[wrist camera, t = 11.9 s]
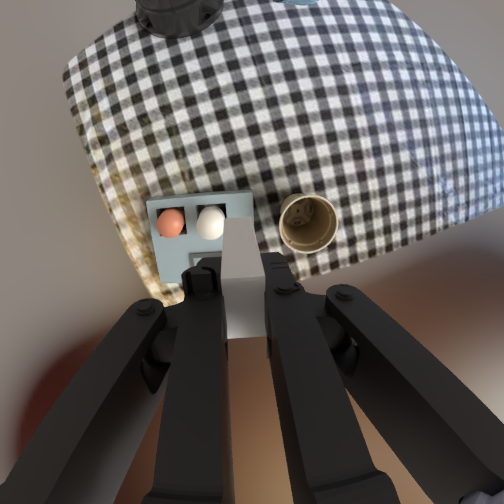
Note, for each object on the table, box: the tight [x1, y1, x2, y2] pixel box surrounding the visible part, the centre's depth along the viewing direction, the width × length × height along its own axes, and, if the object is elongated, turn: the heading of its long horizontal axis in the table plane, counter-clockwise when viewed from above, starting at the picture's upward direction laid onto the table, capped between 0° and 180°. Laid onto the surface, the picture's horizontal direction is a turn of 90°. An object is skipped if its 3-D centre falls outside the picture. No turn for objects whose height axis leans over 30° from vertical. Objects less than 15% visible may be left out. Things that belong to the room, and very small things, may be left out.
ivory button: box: [196, 206, 225, 240], centre depth 44 cm, size 4×4×4 cm
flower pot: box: [279, 193, 338, 253], centre depth 45 cm, size 9×9×9 cm
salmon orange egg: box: [156, 207, 185, 238], centre depth 45 cm, size 4×4×4 cm
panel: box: [146, 189, 254, 284], centre depth 48 cm, size 16×18×3 cm
